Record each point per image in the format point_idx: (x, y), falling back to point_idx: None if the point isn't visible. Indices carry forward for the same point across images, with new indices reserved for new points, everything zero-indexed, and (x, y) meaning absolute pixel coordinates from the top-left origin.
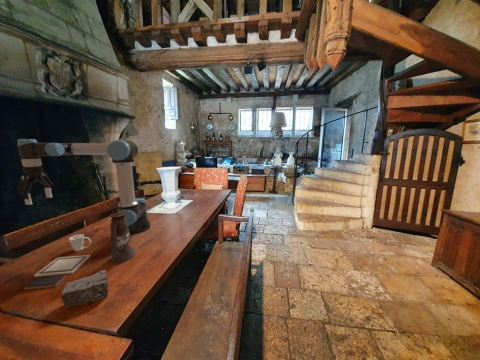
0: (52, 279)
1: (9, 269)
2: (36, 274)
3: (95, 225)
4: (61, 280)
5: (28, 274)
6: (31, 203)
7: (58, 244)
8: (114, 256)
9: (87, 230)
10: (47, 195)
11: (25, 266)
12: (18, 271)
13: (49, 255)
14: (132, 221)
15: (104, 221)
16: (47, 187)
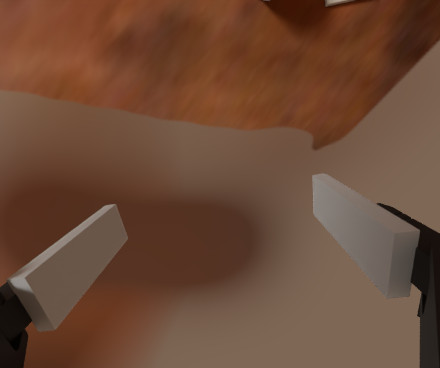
0: None
1: (359, 111)
2: None
3: (85, 91)
4: None
5: (398, 23)
6: (323, 175)
7: (232, 101)
8: None
9: (129, 87)
10: (113, 240)
11: (352, 79)
12: (374, 74)
13: (299, 63)
14: None
15: (44, 82)
16: (24, 313)
